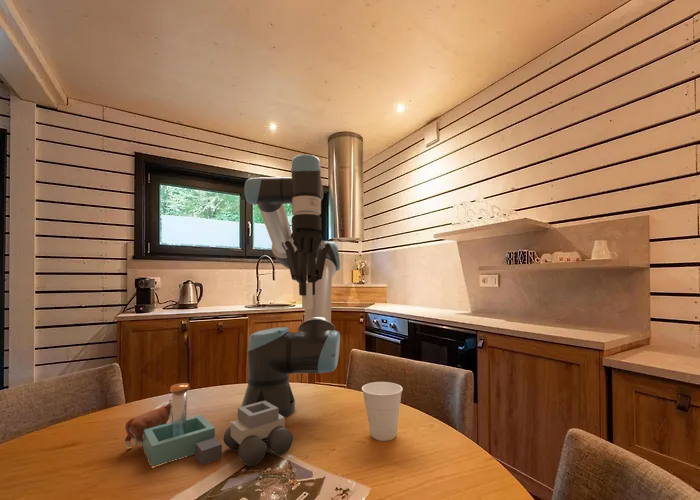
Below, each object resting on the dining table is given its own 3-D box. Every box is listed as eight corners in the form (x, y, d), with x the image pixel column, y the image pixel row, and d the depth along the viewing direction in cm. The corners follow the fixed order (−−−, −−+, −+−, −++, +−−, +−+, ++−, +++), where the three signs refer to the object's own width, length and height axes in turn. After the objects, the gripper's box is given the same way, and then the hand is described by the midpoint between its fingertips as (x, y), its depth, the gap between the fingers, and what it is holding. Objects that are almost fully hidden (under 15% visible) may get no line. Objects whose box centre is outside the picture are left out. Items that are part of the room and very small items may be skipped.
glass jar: (167, 444, 75) (168, 385, 76) (185, 439, 77) (186, 382, 78) (171, 451, 72) (172, 389, 73) (189, 445, 74) (191, 385, 76)
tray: (142, 449, 74) (143, 429, 75) (200, 432, 82) (201, 414, 83) (151, 468, 66) (152, 446, 67) (214, 447, 74) (214, 427, 75)
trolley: (242, 470, 65) (243, 422, 66) (223, 450, 73) (223, 407, 74) (292, 450, 73) (292, 407, 73) (270, 433, 81) (270, 395, 82)
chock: (195, 458, 71) (195, 443, 71) (214, 451, 73) (214, 437, 74) (201, 466, 67) (202, 450, 68) (221, 459, 70) (221, 444, 70)
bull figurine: (184, 430, 84) (185, 397, 85) (129, 455, 72) (130, 416, 73) (173, 427, 86) (174, 395, 87) (117, 451, 74) (119, 413, 75)
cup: (403, 447, 73) (401, 395, 74) (359, 444, 75) (358, 393, 76) (405, 427, 82) (403, 382, 84) (366, 425, 84) (365, 380, 86)
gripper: (289, 210, 78) (290, 311, 75) (335, 215, 85) (337, 307, 83) (276, 215, 84) (276, 309, 81) (320, 220, 91) (321, 306, 89)
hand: (307, 308), depth 82 cm, fingers closed
